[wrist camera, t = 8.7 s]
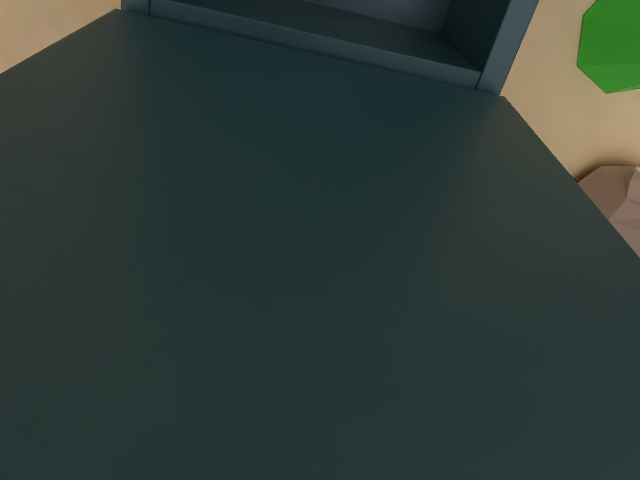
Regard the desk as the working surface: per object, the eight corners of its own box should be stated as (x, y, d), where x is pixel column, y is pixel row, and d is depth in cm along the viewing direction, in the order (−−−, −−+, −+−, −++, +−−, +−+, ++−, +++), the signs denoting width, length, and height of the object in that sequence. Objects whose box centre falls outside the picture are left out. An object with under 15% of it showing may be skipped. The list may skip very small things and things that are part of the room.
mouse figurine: (501, 195, 27) (547, 265, 22) (651, 142, 26) (744, 204, 20) (518, 263, 30) (563, 341, 24) (656, 219, 28) (739, 293, 23)
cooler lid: (-727, 477, 3) (-310, 680, 6) (975, 649, 4) (655, 746, 7) (114, 7, 15) (119, 148, 18) (505, 96, 16) (452, 213, 19)
